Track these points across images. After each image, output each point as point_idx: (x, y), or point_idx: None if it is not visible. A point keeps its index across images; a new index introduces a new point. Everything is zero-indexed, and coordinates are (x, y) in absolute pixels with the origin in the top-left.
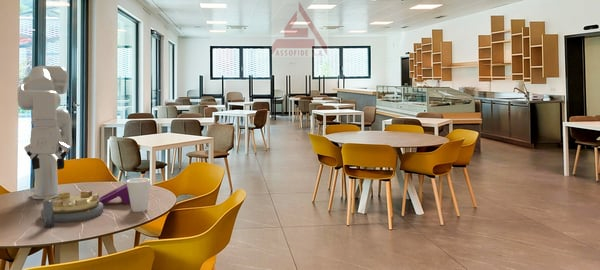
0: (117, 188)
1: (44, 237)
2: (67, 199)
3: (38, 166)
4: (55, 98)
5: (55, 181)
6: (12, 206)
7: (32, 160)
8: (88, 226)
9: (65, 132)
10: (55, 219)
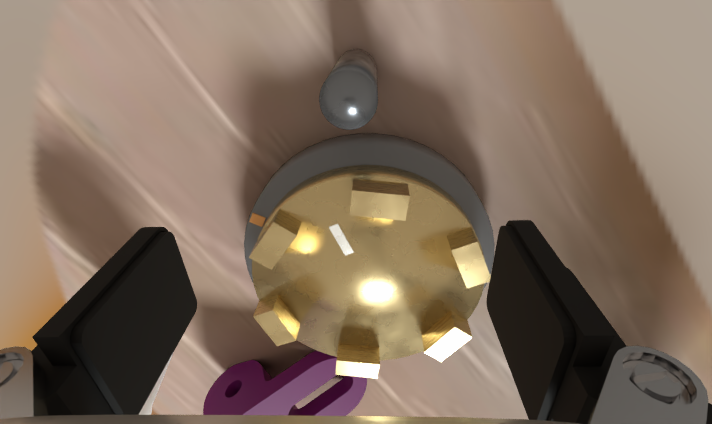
0: None
1: None
2: (406, 302)
3: (495, 302)
4: None
5: None
6: (686, 323)
7: (590, 312)
8: (180, 96)
9: None
10: (367, 139)
